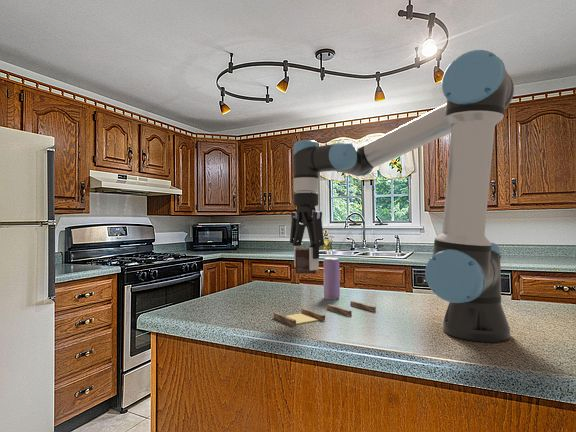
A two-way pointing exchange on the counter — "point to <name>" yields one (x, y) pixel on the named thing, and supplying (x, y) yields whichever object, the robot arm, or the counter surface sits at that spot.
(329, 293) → the beverage can
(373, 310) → the notch rack
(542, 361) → the counter surface
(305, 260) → the box
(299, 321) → the pad
